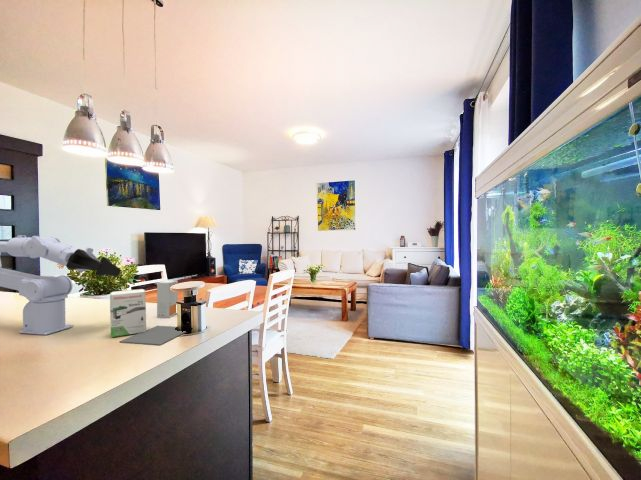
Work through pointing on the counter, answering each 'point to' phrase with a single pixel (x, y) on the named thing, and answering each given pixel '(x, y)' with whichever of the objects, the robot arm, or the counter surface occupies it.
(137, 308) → the ink box
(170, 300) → the skincare box
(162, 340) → the mat
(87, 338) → the counter surface
